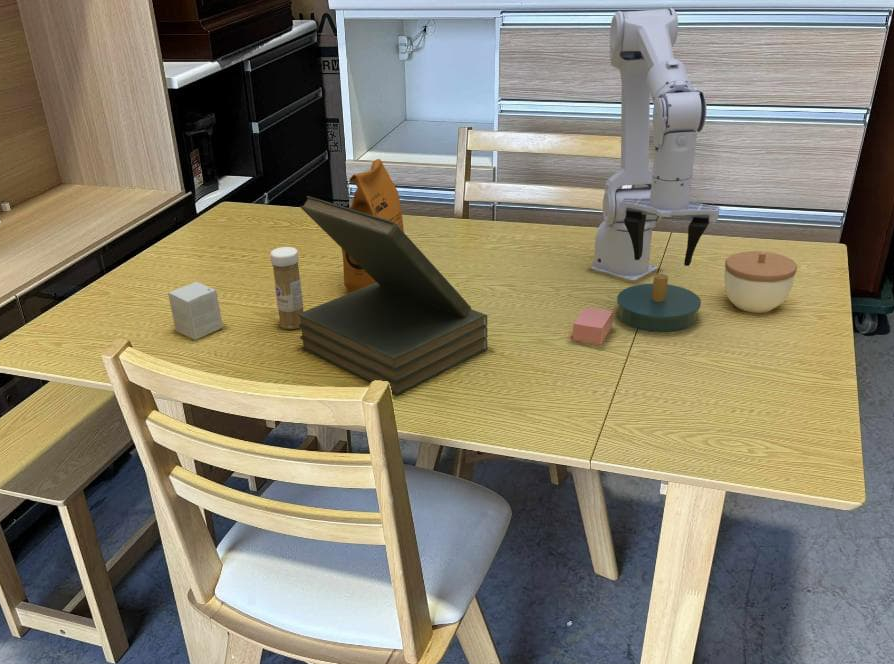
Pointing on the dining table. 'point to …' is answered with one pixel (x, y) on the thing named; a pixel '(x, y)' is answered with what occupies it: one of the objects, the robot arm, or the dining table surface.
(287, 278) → the sprinkles bottle
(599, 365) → the dining table surface
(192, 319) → the product box
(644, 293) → the lid
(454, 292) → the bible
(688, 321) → the tin
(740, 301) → the trinket box
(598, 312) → the soap
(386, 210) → the coffee package
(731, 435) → the dining table surface
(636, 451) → the dining table surface
